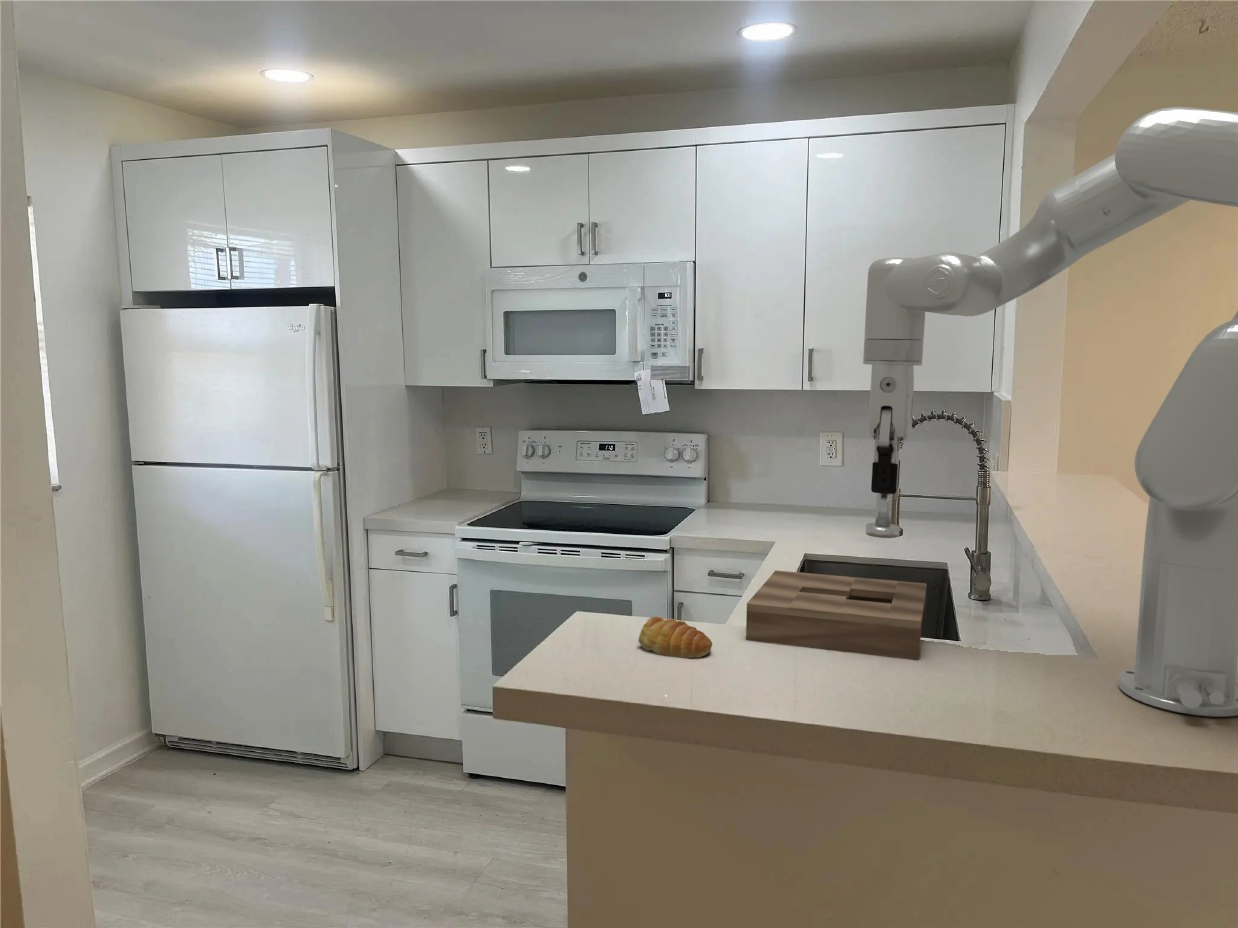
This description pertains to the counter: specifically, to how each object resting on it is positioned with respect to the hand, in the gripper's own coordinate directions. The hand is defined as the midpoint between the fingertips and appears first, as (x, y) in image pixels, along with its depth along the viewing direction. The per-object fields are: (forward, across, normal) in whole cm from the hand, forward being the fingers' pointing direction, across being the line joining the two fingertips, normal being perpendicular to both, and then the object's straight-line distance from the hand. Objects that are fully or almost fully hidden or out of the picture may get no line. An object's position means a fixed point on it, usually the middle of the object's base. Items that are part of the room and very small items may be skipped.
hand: (884, 489), depth 120 cm
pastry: (+21, -17, +24) cm, 36 cm away
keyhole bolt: (+6, 0, 0) cm, 6 cm away
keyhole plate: (+20, 0, +6) cm, 21 cm away
